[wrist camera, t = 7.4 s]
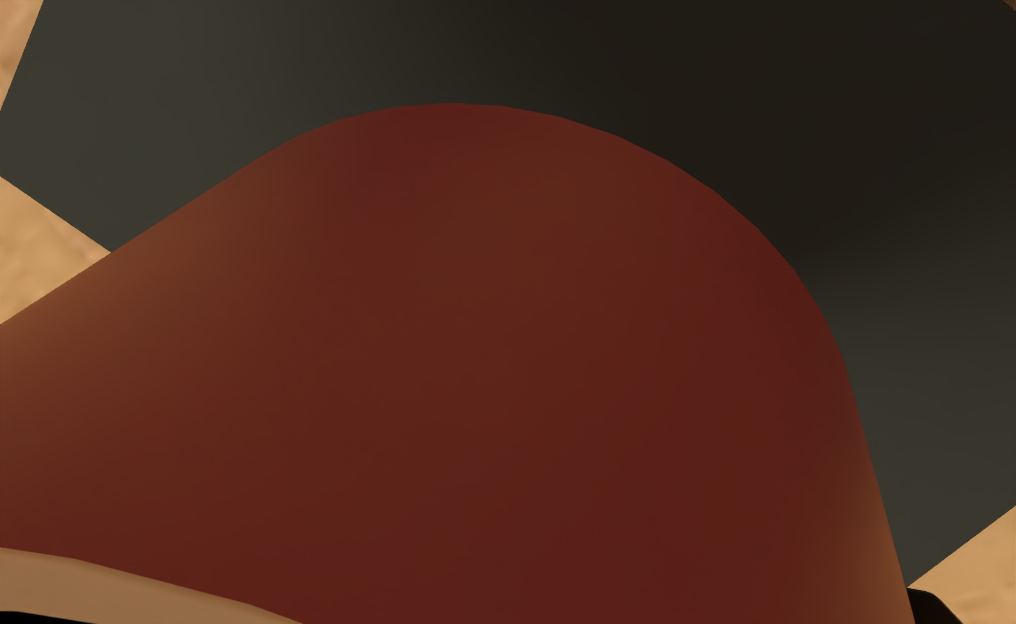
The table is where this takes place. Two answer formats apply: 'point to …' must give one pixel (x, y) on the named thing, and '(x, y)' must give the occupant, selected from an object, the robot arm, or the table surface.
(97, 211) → the mat
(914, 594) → the robot arm
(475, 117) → the tub
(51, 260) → the table surface
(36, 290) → the table surface
